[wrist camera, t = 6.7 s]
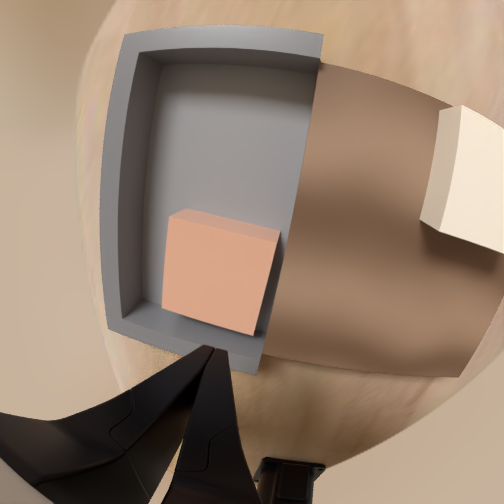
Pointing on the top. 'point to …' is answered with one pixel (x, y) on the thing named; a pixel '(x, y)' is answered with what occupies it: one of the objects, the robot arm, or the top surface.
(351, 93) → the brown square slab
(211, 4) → the top surface
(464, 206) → the cream tile
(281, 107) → the box
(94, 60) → the top surface
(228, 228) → the terracotta tile
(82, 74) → the top surface
